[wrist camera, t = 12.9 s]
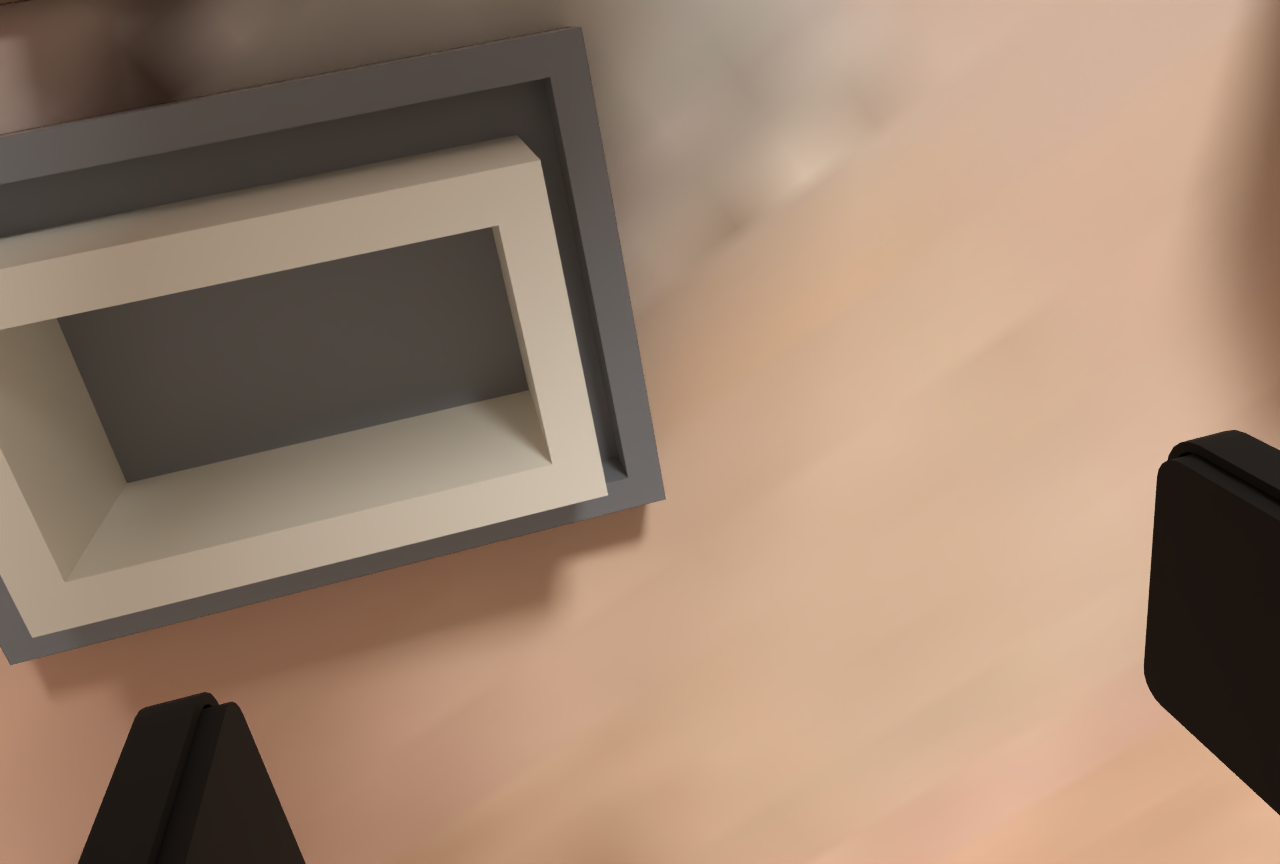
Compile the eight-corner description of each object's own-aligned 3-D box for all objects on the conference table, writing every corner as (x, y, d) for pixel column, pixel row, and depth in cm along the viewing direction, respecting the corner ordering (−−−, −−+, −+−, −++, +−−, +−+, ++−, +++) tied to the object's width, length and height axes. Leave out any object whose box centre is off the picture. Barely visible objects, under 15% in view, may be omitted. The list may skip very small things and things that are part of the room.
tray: (-192, 170, 24) (-246, 183, 22) (568, 26, 26) (581, 27, 24) (37, 621, 30) (10, 665, 28) (650, 469, 32) (665, 499, 30)
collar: (-30, 242, 25) (-141, 298, 20) (516, 134, 27) (540, 159, 22) (99, 529, 28) (32, 637, 23) (575, 417, 30) (608, 495, 25)
